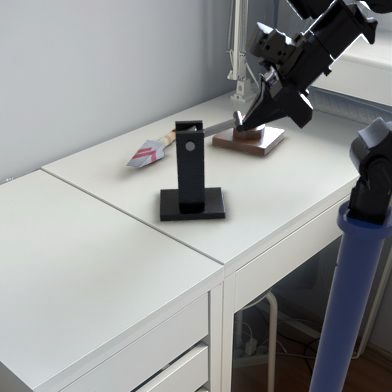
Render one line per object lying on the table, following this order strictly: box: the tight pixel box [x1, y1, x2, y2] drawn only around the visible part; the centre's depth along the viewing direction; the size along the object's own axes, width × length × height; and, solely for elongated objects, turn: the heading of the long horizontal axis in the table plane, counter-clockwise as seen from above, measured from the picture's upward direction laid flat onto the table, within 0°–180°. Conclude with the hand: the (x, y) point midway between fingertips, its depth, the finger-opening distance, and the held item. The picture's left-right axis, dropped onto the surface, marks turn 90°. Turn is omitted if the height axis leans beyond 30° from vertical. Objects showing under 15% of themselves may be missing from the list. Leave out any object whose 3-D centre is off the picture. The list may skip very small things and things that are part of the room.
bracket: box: [159, 119, 226, 222], centre depth 83 cm, size 11×9×14 cm
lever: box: [181, 110, 244, 139], centre depth 79 cm, size 10×6×2 cm, turn 92°
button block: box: [211, 124, 285, 157], centre depth 106 cm, size 12×10×4 cm
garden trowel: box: [125, 127, 176, 169], centre depth 103 cm, size 4×3×20 cm
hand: (242, 128), depth 79 cm, fingers closed, pressing on lever
